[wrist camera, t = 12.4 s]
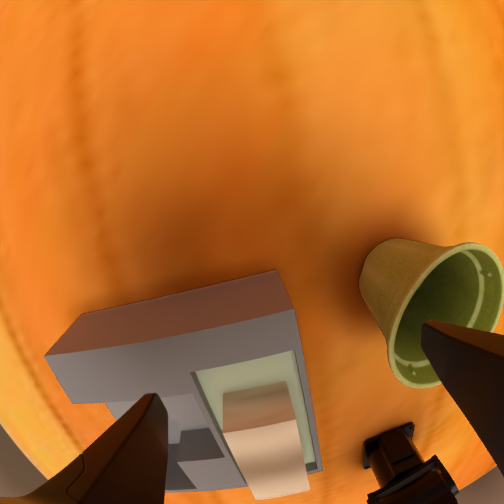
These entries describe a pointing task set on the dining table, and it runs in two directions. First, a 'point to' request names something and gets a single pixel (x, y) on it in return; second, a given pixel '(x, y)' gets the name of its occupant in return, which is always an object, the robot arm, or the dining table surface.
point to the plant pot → (429, 297)
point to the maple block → (265, 440)
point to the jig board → (192, 368)
